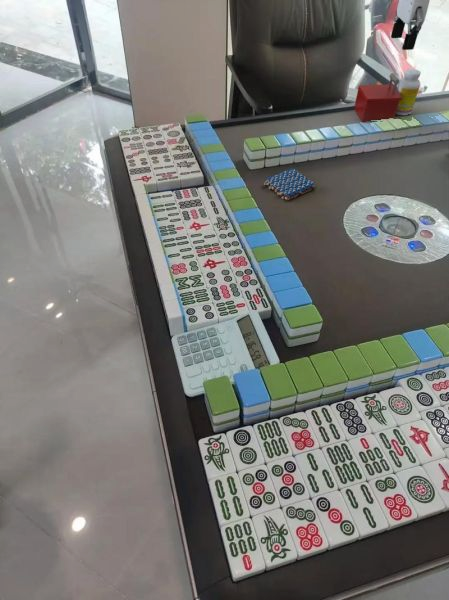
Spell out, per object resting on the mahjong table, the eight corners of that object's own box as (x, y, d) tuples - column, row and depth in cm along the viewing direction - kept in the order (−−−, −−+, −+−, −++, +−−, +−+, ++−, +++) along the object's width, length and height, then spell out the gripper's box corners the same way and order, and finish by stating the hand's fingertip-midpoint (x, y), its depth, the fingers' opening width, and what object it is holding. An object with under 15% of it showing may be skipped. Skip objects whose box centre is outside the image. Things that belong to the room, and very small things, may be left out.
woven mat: (291, 172, 122) (292, 165, 121) (316, 189, 116) (317, 183, 115) (262, 184, 118) (262, 177, 117) (286, 203, 112) (287, 196, 111)
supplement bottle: (415, 114, 145) (428, 74, 135) (397, 117, 144) (409, 76, 134) (404, 106, 149) (416, 66, 139) (387, 108, 148) (398, 68, 138)
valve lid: (391, 86, 144) (396, 69, 140) (401, 100, 137) (406, 82, 133) (358, 87, 143) (362, 70, 139) (366, 101, 137) (371, 83, 132)
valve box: (383, 106, 149) (389, 86, 144) (393, 121, 142) (399, 100, 137) (354, 107, 148) (358, 87, 143) (362, 122, 142) (366, 101, 137)
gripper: (448, -21, 108) (425, 53, 121) (422, -37, 119) (403, 33, 132) (419, -20, 108) (399, 54, 120) (395, -36, 119) (379, 34, 132)
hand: (401, 43), depth 126 cm, fingers open, 9 cm apart
